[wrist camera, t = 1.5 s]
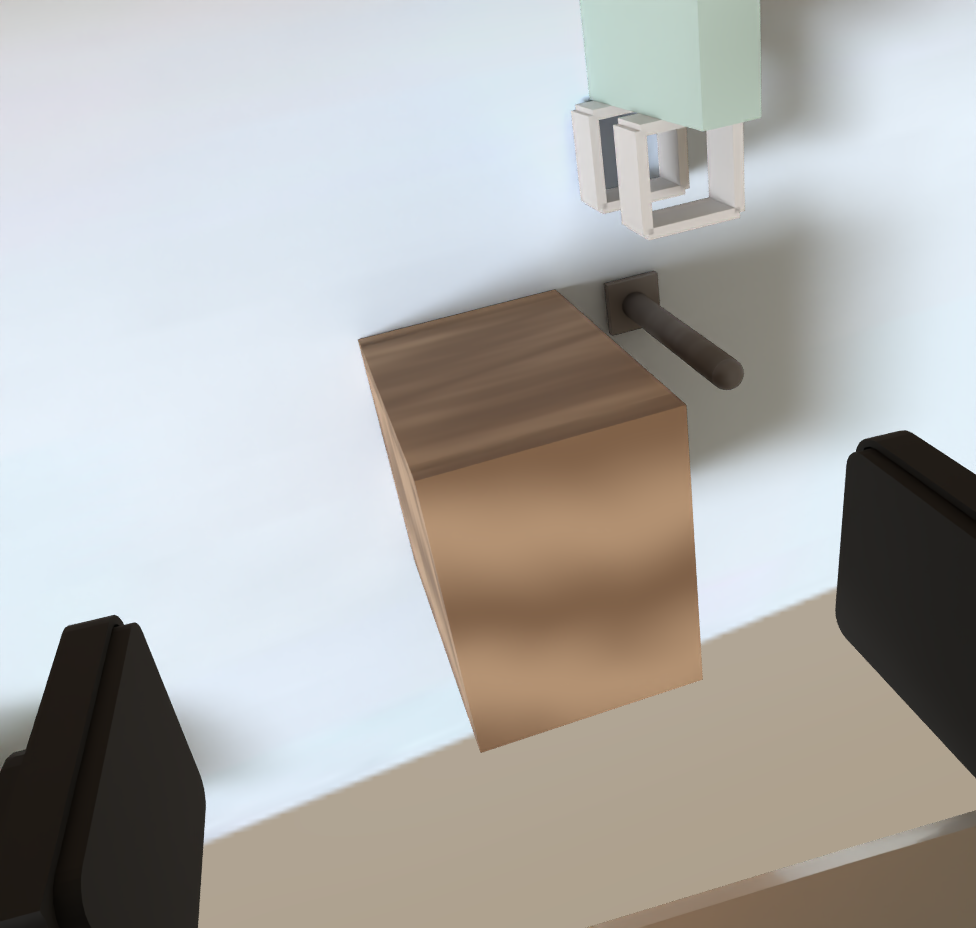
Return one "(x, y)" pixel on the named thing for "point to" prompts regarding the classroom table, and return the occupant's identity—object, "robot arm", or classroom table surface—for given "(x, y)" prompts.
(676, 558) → the cabinet
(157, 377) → the classroom table surface
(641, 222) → the door
